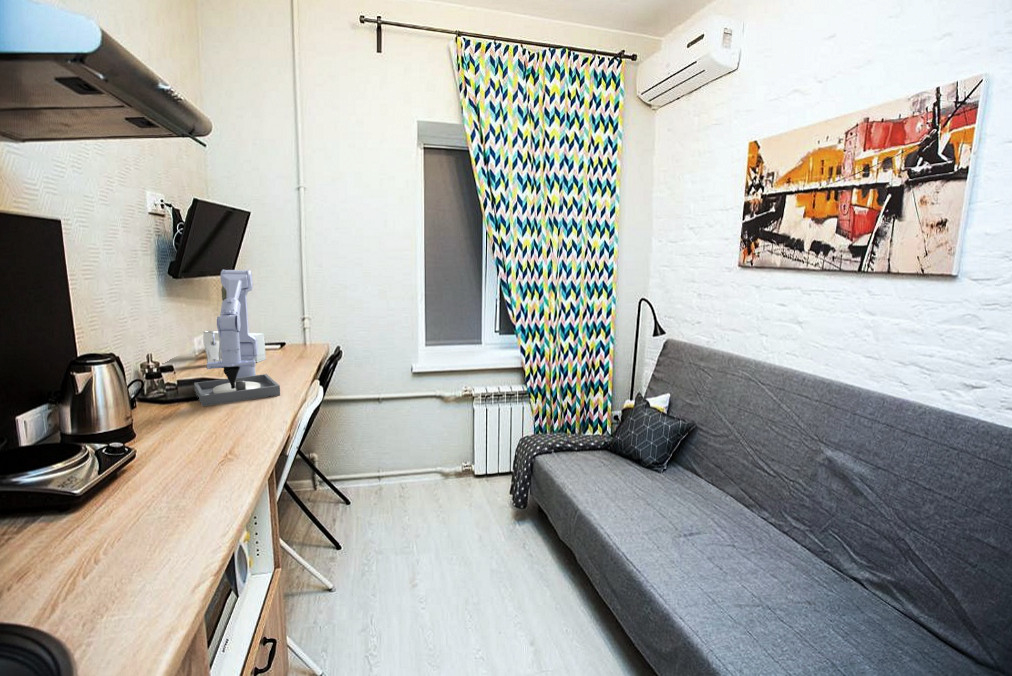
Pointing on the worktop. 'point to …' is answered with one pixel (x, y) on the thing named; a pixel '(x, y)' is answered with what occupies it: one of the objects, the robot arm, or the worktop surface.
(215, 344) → the beer glass
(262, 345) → the supplement box
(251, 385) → the dial
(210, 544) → the worktop surface
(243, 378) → the bezel plate
